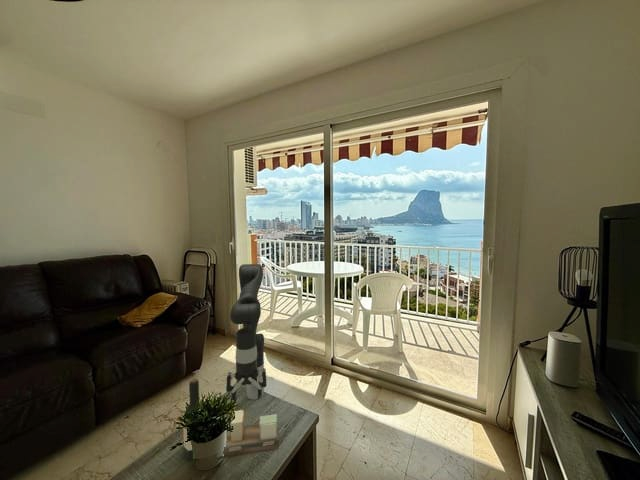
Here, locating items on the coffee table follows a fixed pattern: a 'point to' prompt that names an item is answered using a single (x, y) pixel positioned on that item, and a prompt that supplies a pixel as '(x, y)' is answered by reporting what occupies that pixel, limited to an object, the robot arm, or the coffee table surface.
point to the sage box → (268, 427)
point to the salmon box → (238, 426)
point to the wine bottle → (193, 405)
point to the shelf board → (249, 442)
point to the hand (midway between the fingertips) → (247, 398)
